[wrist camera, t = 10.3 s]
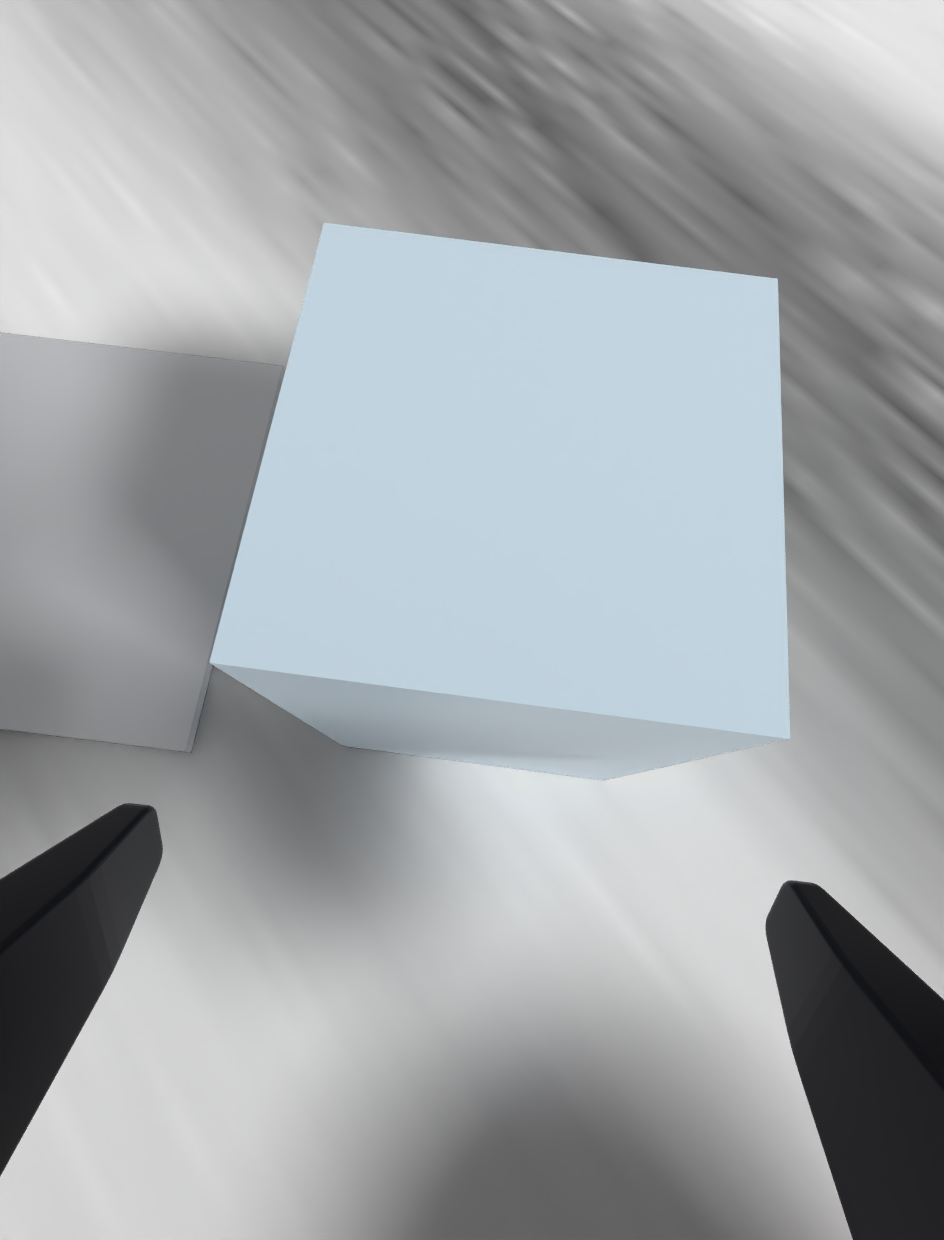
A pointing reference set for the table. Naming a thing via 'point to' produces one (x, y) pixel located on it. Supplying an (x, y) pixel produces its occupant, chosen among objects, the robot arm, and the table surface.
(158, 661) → the mat
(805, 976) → the robot arm
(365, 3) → the table surface
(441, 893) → the table surface
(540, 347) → the light blue block
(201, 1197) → the table surface
